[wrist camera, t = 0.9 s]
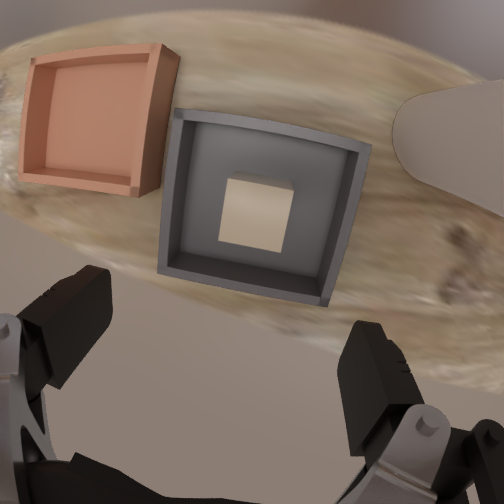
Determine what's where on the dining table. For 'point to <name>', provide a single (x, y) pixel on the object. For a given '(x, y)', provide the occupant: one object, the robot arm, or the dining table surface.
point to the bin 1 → (98, 118)
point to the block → (256, 211)
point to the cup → (456, 141)
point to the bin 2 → (268, 164)
